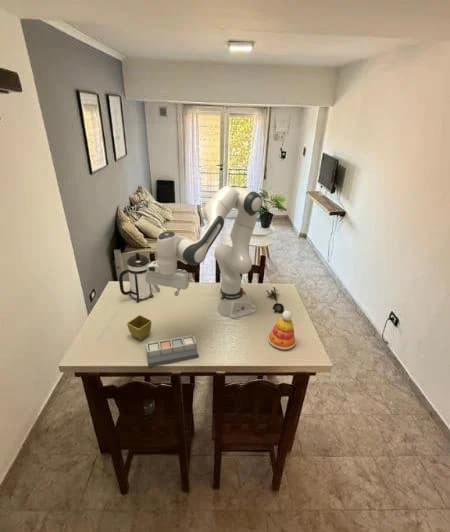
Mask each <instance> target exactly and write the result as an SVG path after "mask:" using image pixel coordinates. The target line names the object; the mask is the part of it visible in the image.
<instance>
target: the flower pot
mask: <svg viewBox="0 0 450 532" xmlns="http://www.w3.org/2000/svg"><path fill="white" fill-rule="evenodd" d="M126 325H127V327H128V328H127V329H128V332H129V334H131V335H132V336H133V337H134V338H135V339H138V340H140V341H142V340H143V339H144V338H146V337H147V336H149V334H150V333H151V330H152V329H151V328H152V320H151V319H150V318H147V317H145V316H143V315H140V314H139V315H137V316H136V317H134V318H133V319H131V320H130V321H128V322H127V323H126Z"/></svg>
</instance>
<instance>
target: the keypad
mask: <svg viewBox="0 0 450 532" xmlns="http://www.w3.org/2000/svg"><path fill="white" fill-rule="evenodd" d="M187 338H192V340H193V343H190V344H184V339H187ZM175 340H181V343H182V345H179V346H173V343H172V341H175ZM164 342H169V343H170V347H168V348H161V343H164ZM152 344H158V349H156V350H151V351H150V349H149V345H152ZM197 345H198V344H197V341H196V338H195V335H194V334H192V335H184V336H179V337H173V338H166V339H162V340H155V341H150V342H146V343H145V348H146V354H147V365H148V368H152V367H156V366H157V367H158V366H163V365H168V364H173V363H179V362H183V361H188V360H194V359H197V358H199V352H198V349H197V347H198V346H197Z"/></svg>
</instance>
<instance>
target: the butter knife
mask: <svg viewBox="0 0 450 532" xmlns="http://www.w3.org/2000/svg"><path fill="white" fill-rule="evenodd" d="M109 328H110V326H108V325H106V327H105V328H104V329H103V330H102V331H101V332H100V333H99V335H97V337H96V338H95V340H96V341H100V340H102V339H103V337H104V334H105V333H106V331H107V330H108V329H109Z"/></svg>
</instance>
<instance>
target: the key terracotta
mask: <svg viewBox="0 0 450 532" xmlns="http://www.w3.org/2000/svg"><path fill="white" fill-rule="evenodd" d="M168 347H170V343H169V342H164V343H161V348H168Z"/></svg>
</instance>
